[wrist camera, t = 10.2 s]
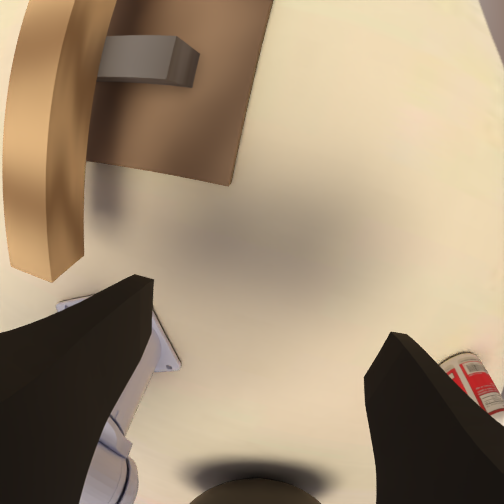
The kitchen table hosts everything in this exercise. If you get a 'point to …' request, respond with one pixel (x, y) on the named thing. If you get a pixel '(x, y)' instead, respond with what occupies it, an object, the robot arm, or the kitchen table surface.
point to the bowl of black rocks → (255, 493)
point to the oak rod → (50, 132)
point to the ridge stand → (176, 85)
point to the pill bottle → (476, 383)
